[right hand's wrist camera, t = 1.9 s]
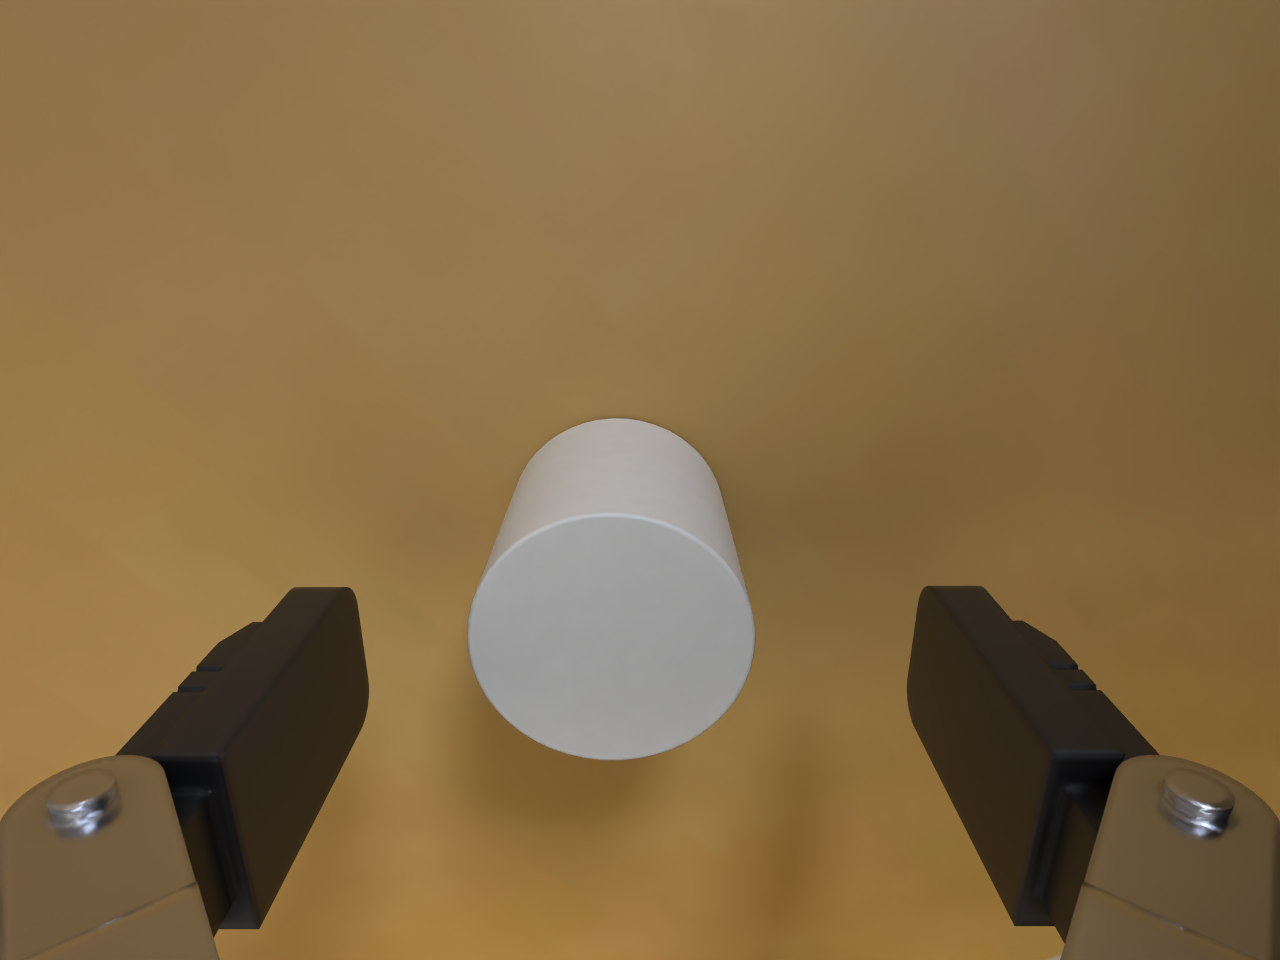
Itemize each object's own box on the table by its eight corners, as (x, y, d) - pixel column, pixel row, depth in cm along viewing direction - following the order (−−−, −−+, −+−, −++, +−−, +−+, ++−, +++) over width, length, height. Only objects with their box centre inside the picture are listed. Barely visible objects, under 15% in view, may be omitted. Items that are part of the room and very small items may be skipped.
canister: (522, 615, 15) (484, 767, 11) (501, 422, 14) (447, 520, 10) (724, 606, 15) (755, 756, 11) (722, 411, 14) (757, 506, 10)
